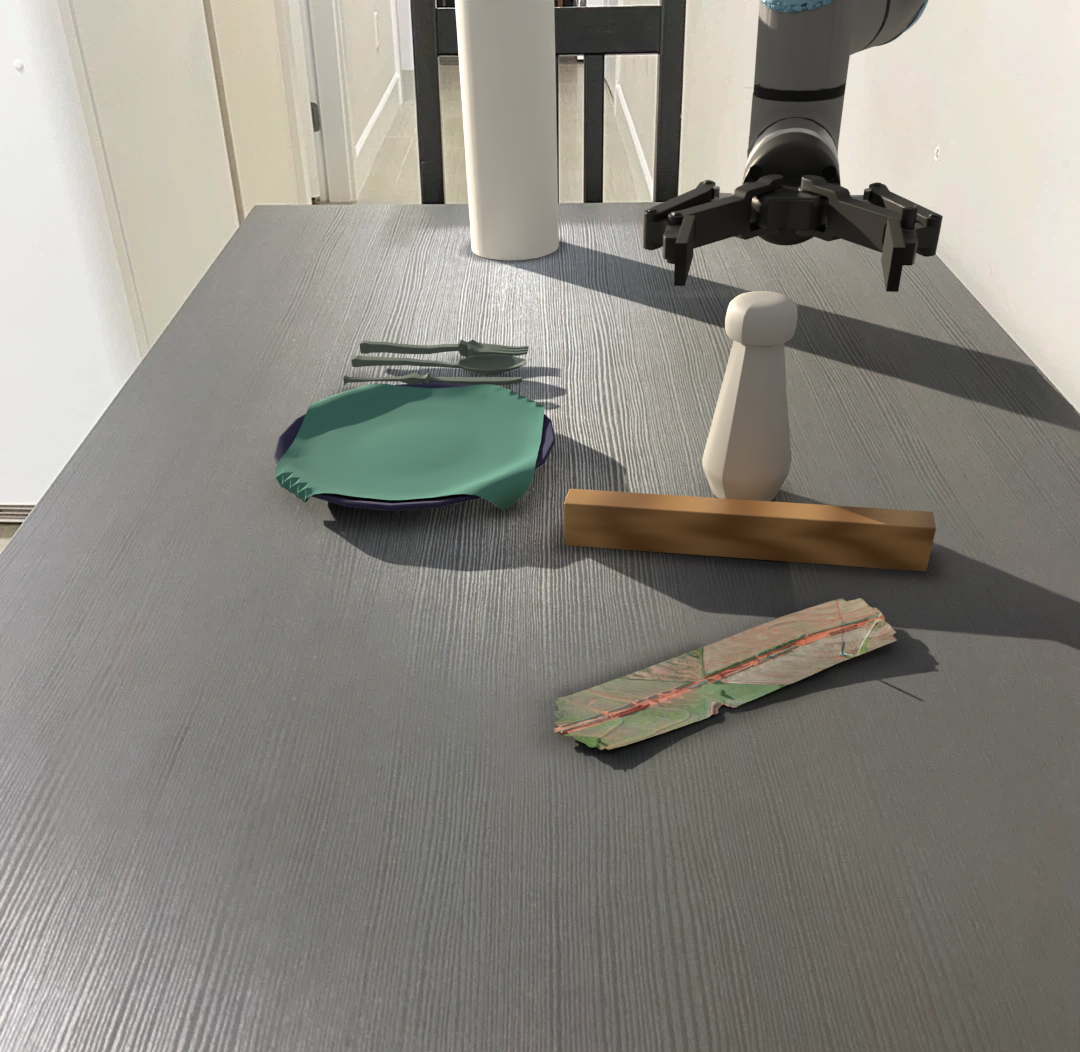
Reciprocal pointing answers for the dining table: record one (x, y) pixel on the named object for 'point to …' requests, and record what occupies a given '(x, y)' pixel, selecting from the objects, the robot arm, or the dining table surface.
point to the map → (721, 674)
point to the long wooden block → (750, 529)
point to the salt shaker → (752, 401)
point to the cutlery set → (419, 435)
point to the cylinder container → (509, 125)
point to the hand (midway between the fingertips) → (786, 267)
